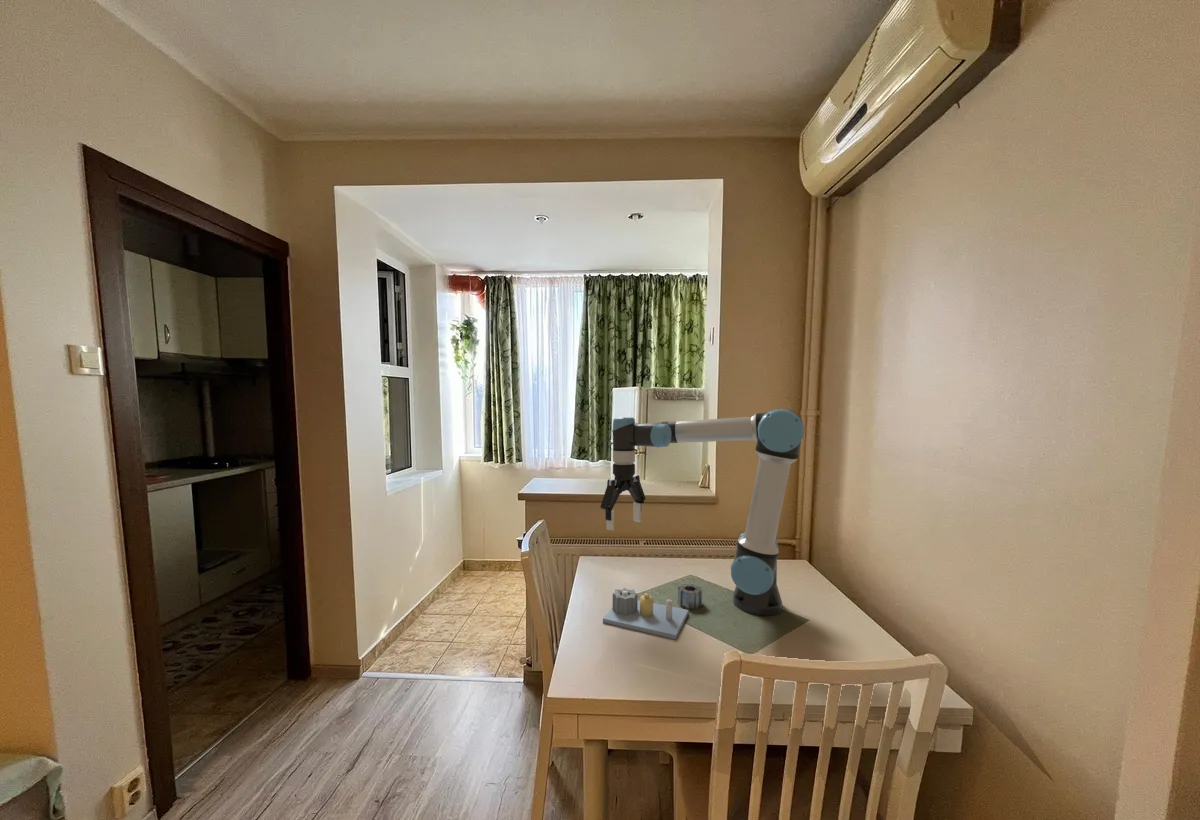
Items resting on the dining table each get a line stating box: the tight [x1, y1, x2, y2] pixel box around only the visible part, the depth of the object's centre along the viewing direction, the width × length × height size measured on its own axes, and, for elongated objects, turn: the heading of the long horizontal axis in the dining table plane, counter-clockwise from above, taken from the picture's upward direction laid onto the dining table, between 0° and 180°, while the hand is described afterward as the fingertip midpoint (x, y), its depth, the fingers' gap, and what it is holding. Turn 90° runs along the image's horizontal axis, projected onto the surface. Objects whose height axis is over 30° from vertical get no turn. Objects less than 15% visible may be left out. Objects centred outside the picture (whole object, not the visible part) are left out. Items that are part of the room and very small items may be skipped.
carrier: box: [602, 587, 689, 640], centre depth 133 cm, size 22×16×7 cm
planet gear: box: [677, 583, 703, 610], centre depth 142 cm, size 8×8×5 cm
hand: (624, 525), depth 148 cm, fingers open, 13 cm apart
